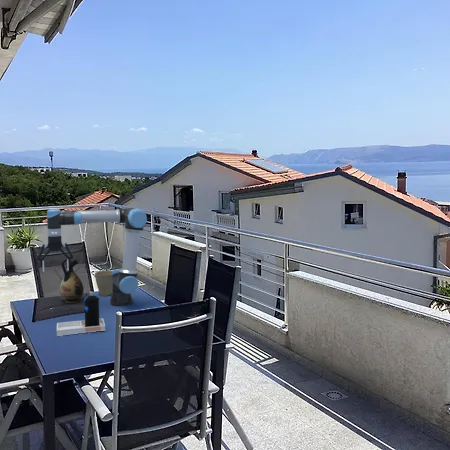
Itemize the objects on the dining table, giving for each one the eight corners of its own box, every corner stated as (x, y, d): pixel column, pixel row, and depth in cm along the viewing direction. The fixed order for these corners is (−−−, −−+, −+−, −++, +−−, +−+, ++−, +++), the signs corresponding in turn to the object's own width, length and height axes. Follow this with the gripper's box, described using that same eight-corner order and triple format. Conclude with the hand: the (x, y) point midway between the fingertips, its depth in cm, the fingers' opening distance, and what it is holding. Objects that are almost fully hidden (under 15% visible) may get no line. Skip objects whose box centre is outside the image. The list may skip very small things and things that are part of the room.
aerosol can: (100, 324, 258) (99, 289, 256) (99, 329, 250) (98, 293, 248) (85, 324, 257) (84, 290, 255) (83, 329, 249) (82, 294, 246)
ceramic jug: (74, 297, 319) (73, 255, 316) (88, 300, 310) (87, 257, 307) (53, 302, 305) (51, 258, 302) (67, 306, 296) (65, 261, 293)
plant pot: (97, 298, 316) (97, 275, 314) (93, 293, 329) (92, 271, 327) (119, 295, 323) (118, 273, 321) (113, 291, 336) (113, 269, 334)
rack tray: (103, 324, 262) (103, 318, 261) (105, 331, 249) (105, 325, 249) (57, 329, 253) (57, 322, 253) (56, 337, 241) (56, 330, 241)
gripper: (31, 237, 260) (32, 273, 262) (77, 235, 268) (78, 270, 271) (32, 235, 267) (33, 271, 269) (76, 233, 275) (77, 268, 278)
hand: (55, 271), depth 270 cm, fingers open, 13 cm apart
